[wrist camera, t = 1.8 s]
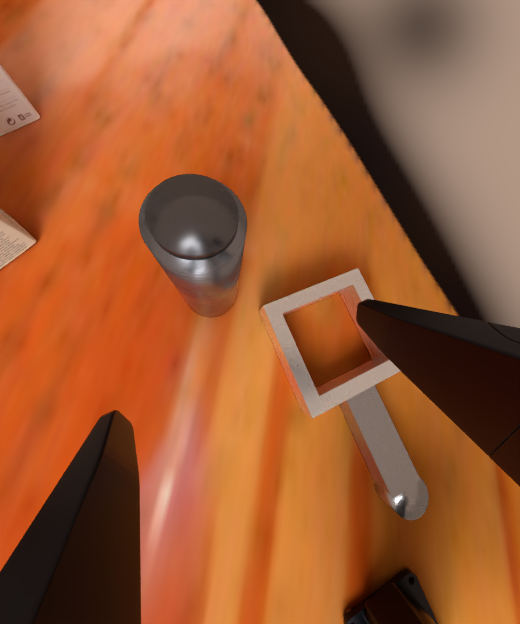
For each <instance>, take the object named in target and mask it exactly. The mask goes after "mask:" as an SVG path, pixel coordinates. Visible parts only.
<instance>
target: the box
mask: <svg viewBox="0 0 520 624" xmlns="http://www.w3.org/2000/svg"><path fill="white" fill-rule="evenodd" d="M35 243H36V240H35V239H34V238H33V237H32V236H31V235H30V234H29V233H28V232H27V231H26V230H25V229H24V228H23V227H22V226H21V225H19V224H18V223H17V222H16V221H15V220H14V219H13V218H12V217H11V216H9V215H8V214H7V213H6V212H5V211H3V210H2V209H0V269H1V268H3V267H4V266H5V265H7V264H8V263H9V262H11V261H12V260H14V259H15V258H16V257H18V256H19V255H20V254H22V253H23V252H24V251H26V250H27V249H28V248H30V247H31V246H32V245H34V244H35Z"/></svg>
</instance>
